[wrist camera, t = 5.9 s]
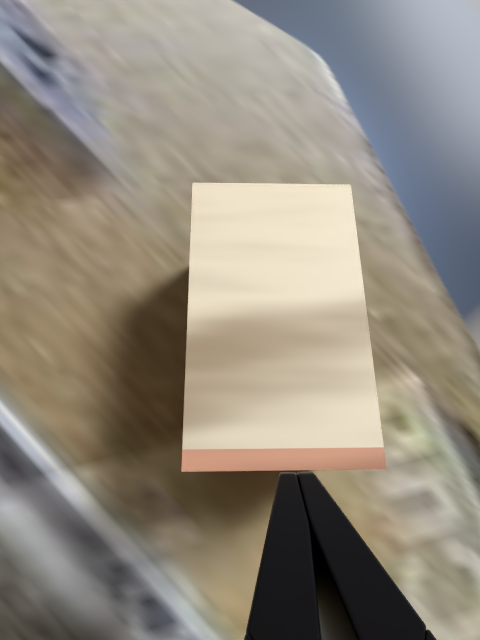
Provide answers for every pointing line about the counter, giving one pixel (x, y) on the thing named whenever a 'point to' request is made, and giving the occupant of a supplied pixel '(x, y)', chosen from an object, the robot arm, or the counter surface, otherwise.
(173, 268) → the counter surface
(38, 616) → the counter surface
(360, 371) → the marked block
